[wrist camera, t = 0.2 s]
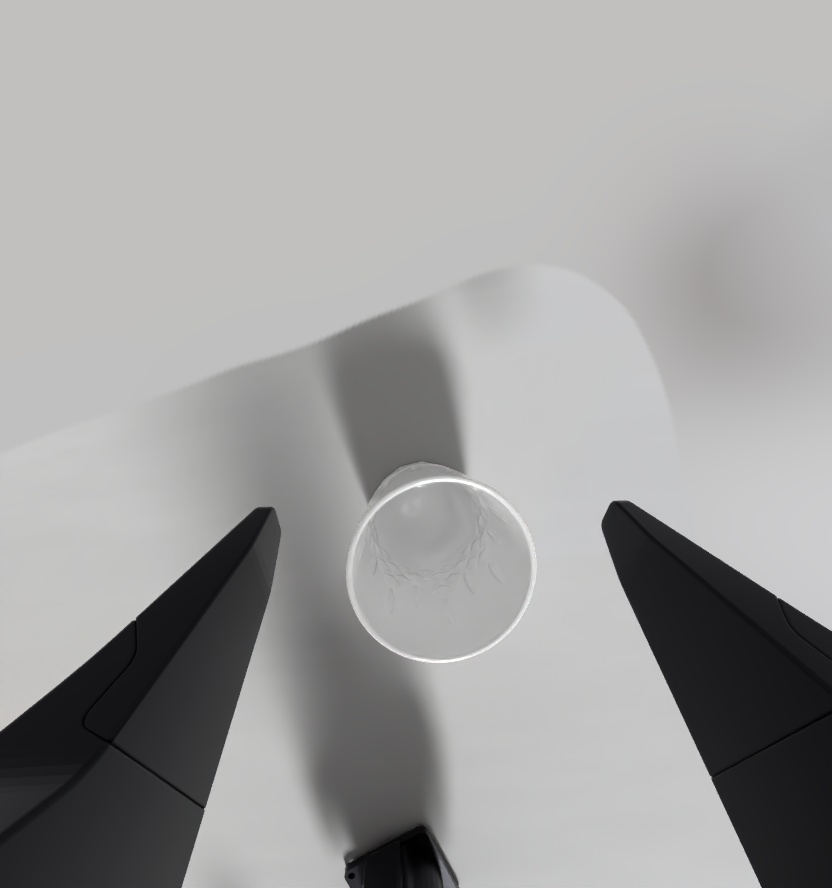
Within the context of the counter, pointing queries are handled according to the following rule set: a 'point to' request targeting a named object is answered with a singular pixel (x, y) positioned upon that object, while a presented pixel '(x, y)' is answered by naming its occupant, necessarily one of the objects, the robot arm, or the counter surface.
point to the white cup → (439, 565)
